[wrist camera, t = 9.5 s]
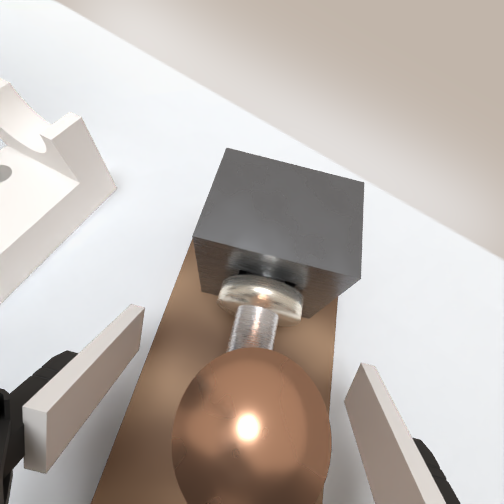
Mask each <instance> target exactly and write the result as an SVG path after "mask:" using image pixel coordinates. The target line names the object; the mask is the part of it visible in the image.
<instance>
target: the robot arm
mask: <svg viewBox="0 0 504 504" xmlns="http://www.w3.org/2000/svg"><path fill="white" fill-rule="evenodd" d="M144 310H145V308H144V307H141V306H137V305H133V304H131V305H130V306H129V307H128V308H126V309H125V310H124V311H123V312H122V313H121V314H120V315H119V316H118V317H117V318H116V319H115V320H114V321H113V322H112V323H111V324H109V325H108V326H107V327H106V328H105V329H104V330H103V331H102V332H101V333H100V334H99V335H98V336H97V337H96V338H95V339H94V340H92V341H91V342H90V343H89V344H88V345H87V346H86V347H85V348H84V349H83V350H82V351H81V352H80V353H75V352H71V351H65V352H63V353H61V354H59V355H56V356H54V357H53V358H51V359H50V360H49V361H48V362H47V363H45V364H44V365H43V366H42V368H40V369H38V370H37V371H36V372H35V373H34V374H33V375H32V376H30V377H29V378H28V379H27V380H25V381H24V382H23V383H22V384H21V385H20V386H18V387H17V388H16V389H15V390H14V391H12V392H11V393H10V394H9V393H8V392H7V391H5V390H4V389H0V504H8V502H9V495H10V489H11V483H12V477H13V468H14V467H15V466H16V465H17V464H18V463H19V461H20V460H21V459H22V458H23V457H24V468H25V469H29V470H33V471H37V472H41V473H45V474H46V473H47V472H48V470H49V469H50V468H51V466H52V465H53V464H54V462H55V461H56V460H57V458H58V457H59V456H60V454H61V453H62V452H63V450H64V449H65V448H66V446H67V445H68V444H69V442H70V441H71V440H72V438H73V437H74V436H75V434H76V433H77V432H78V430H79V429H80V428H81V426H82V425H83V424H84V422H85V421H86V420H87V418H88V417H89V416H90V414H91V413H92V412H93V410H94V409H95V408H96V406H97V405H98V404H99V402H100V401H101V400H102V398H103V397H104V396H105V394H106V393H107V392H108V390H109V389H110V388H111V386H112V385H113V384H114V382H115V381H116V380H117V378H118V377H119V376H120V374H121V373H122V372H123V370H124V369H125V368H126V366H127V365H128V364H129V362H130V361H131V360H132V358H133V357H134V356H135V354H136V353H137V352H138V350H139V347H140V340H141V332H142V325H143V318H144ZM344 403H345V406H346V410H347V413H348V416H349V419H350V423H351V426H352V429H353V433H354V436H355V439H356V442H357V446H358V449H359V452H360V455H361V459H362V462H363V465H364V468H365V472H366V475H367V478H368V482H369V485H370V488H371V491H372V495H373V498H374V501H375V504H460V502H459V500H458V498H457V497H456V495H455V493H454V491H453V489H452V488H451V486H450V484H449V482H448V481H446V477H445V475H444V473H443V472H442V470H440V466H439V465H438V463H437V461H436V459H435V457H434V456H433V454H432V452H431V451H430V450H429V449H428V448H427V447H426V445H425V444H424V443H423V442H422V441H421V440H419V439H415V438H412V437H411V435H410V433H409V431H408V429H407V427H406V425H405V423H404V421H403V419H402V417H401V415H400V414H399V412H398V410H397V408H396V406H395V404H394V402H393V400H392V398H391V396H390V394H389V392H388V390H387V389H386V387H385V385H384V383H383V381H382V379H381V377H380V375H379V373H378V371H377V369H376V367H375V366H373V365H369V364H365V363H361V364H360V366H359V368H358V371H357V373H356V375H355V378H354V380H353V382H352V384H351V387H350V389H349V391H348V393H347V396H346V398H345V400H344Z"/></svg>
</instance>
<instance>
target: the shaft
mask: <svg viewBox="0 0 504 504" xmlns="http://www.w3.org/2000/svg"><path fill="white" fill-rule="evenodd" d="M303 300H304V299H303V296H302V295H301V293H300V292H299V291H297V290H296V289H294V288H293V287H291V286H289V285H287V284H285V281H283V280H279V279H275V278H271V277H267V276H263V275H259V274H255V273H251V272H247V271H246V275H234V276H229V277H227V278H225V279H224V280H223V282H222V286H221V289H220V292H219V296H218V299H217V305H218V306H219V307H220V308H221V309H222V310H223V311H225V312H227V313H229V314H231V315H233V316H235V318H234V322H233V326H232V330H231V334H230V338H229V342H228V346H227V350H226V353H224V354H222V355H221V356H219V357H217V358H215V359H214V360H212V361H211V362H210V363H208V364H207V365H206V366H205V367H204V368H203V369H201V370H200V371H199V372H198V374H197V375H196V376H195V377H194V378H193V380H192V381H191V383H190V384H189V386H188V387H187V389H186V390H185V392H184V394H183V396H182V398H181V401H180V403H179V406H178V409H177V411H176V415H175V419H174V423H173V431H172V447H171V450H172V461H173V467H174V472H175V476H176V479H177V482H178V485H179V488H180V490H181V492H182V494H183V496H184V498H185V500H186V502H187V503H188V504H314V503H315V501H316V500H317V498H318V496H319V494H320V492H321V490H322V488H323V485H324V482H325V480H326V477H327V473H328V469H329V465H330V457H331V428H330V422H329V417H328V413H327V410H326V406H325V403H324V401H323V399H322V396H321V394H320V392H319V390H318V389H317V387H316V385H315V383H314V382H313V381H312V379H311V378H310V377H309V375H308V374H307V373H306V372H305V371H304V370H303V369H302V368H301V367H300V366H299V365H298V364H297V363H295V362H294V361H293V360H291V359H290V358H288V357H287V356H285V355H282V354H280V353H278V352H276V351H273V348H274V342H275V336H276V331H277V326H280V327H286V326H294V325H297V324H299V323H300V321H301V315H302V307H303Z"/></svg>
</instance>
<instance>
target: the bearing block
mask: <svg viewBox="0 0 504 504" xmlns="http://www.w3.org/2000/svg"><path fill="white" fill-rule="evenodd" d="M363 202H364V182H360V181H356V180H352V179H348V178H344V177H340V176H336V175H332V174H329V173H325V172H321V171H317V170H313V169H309V168H305V167H301V166H297V165H293V164H289V163H285V162H281V161H277V160H273V159H269V158H265V157H261V156H257V155H253V154H249V153H246V152H242V151H238V150H234V149H230V148H226V150H225V153H224V156H223V158H222V161H221V163H220V166H219V169H218V171H217V174H216V176H215V179H214V182H213V184H212V187H211V189H210V192H209V194H208V197H207V200H206V202H205V205H204V207H203V210H202V213H201V215H200V218H199V220H198V223H197V226H196V228H195V231H194V233H193V236H192V237H193V243H194V249H195V255H196V261H197V267H198V273H199V279H200V285H201V291H202V292H205V293H209V294H213V295H216V296H219V292H220V289H221V286H222V282H223V280H224V279H225V278H227V277H229V276H234V275H246V271H247V272H251V273H255V274H259V275H263V276H267V277H271V278H275V279H279V280H283V281H285V284H287V285H289V286H291V287H293V288H294V289H296V290H297V291H299V292H300V293H301V295H302V296H303V299H304V300H303V307H302V315H301V317H303V318H307V319H309V318H311V317H312V316H313V315H315V314H316V313H317V312H319V311H320V310H321V309H322V308H324V307H325V306H326V305H328V304H329V303H330V302H331V301H333V300H334V299H335V298H337V297H338V296H339V295H341V294H342V293H343V292H344V291H346V290H347V289H348V288H350V287H351V286H352V285H353V284H355V283H356V282H357V281H359V280H360V279H361V259H362V230H363Z"/></svg>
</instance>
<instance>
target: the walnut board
mask: <svg viewBox="0 0 504 504" xmlns="http://www.w3.org/2000/svg"><path fill="white" fill-rule="evenodd" d="M217 299H218V296H216V295H213V294H209V293H205V292H202V291H201V285H200V279H199V273H198V267H197V261H196V255H195V249H194V243H193V239H192V241H191V244H190V247H189V249H188V252H187V254H186V257H185V260H184V262H183V265H182V267H181V270H180V273H179V275H178V278H177V280H176V283H175V286H174V288H173V291H172V293H171V296H170V299H169V301H168V304H167V306H166V309H165V312H164V314H163V317H162V319H161V322H160V325H159V327H158V330H157V332H156V335H155V338H154V340H153V343H152V346H151V348H150V351H149V353H148V356H147V359H146V361H145V364H144V366H143V369H142V372H141V374H140V377H139V379H138V382H137V385H136V387H135V390H134V392H133V395H132V398H131V400H130V403H129V405H128V408H127V411H126V413H125V416H124V418H123V421H122V424H121V426H120V429H119V431H118V434H117V437H116V439H115V442H114V444H113V447H112V450H111V452H110V455H109V458H108V460H107V463H106V465H105V468H104V471H103V473H102V476H101V478H100V481H99V484H98V486H97V489H96V491H95V494H94V497H93V499H92V502H91V504H188V503H187V502H186V500H185V498H184V496H183V494H182V492H181V490H180V488H179V485H178V482H177V479H176V476H175V472H174V467H173V461H172V450H171V447H172V431H173V423H174V419H175V415H176V411H177V409H178V406H179V403H180V401H181V398H182V396H183V394H184V392H185V390H186V389H187V387H188V386H189V384H190V383H191V381H192V380H193V378H194V377H195V376H196V375H197V374H198V372H199V371H200V370H201V369H203V368H204V367H205V366H206V365H207V364H208V363H210V362H211V361H212V360H214V359H215V358H217V357H219V356H221V355H222V354H224V353H226V350H227V346H228V342H229V338H230V334H231V330H232V326H233V322H234V318H235V316H233V315H231V314H229V313H227V312H225V311H223V310H222V309H221V308H220V307H219V306H218V305H217ZM337 302H338V297H337V298H335V299H334V300H333V301H331V302H330V303H329V304H328V305H326V306H325V307H324V308H322V309H321V310H320V311H319V312H317V313H316V314H315V315H313V316H312V317H311V318H309V319H307V318H303V317H301V321H300V323H299V324H297V325H294V326H286V327H280V326H277V331H276V336H275V342H274V348H273V351H276V352H278V353H280V354H282V355H285V356H287V357H288V358H290V359H291V360H293V361H294V362H295V363H297V364H298V365H299V366H300V367H301V368H302V369H303V370H304V371H305V372H306V373H307V374H308V375H309V377H310V378H311V379H312V381H313V382H314V383H315V385H316V387H317V389H318V390H319V392H320V394H321V396H322V399H323V401H324V403H325V406H326V410H327V413H328V417H329V408H330V394H331V381H332V368H333V355H334V342H335V328H336V315H337ZM323 487H324V485H323ZM322 500H323V488H322V490H321V492H320V494H319V496H318V498H317V500H316V501H315V503H314V504H322Z"/></svg>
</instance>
